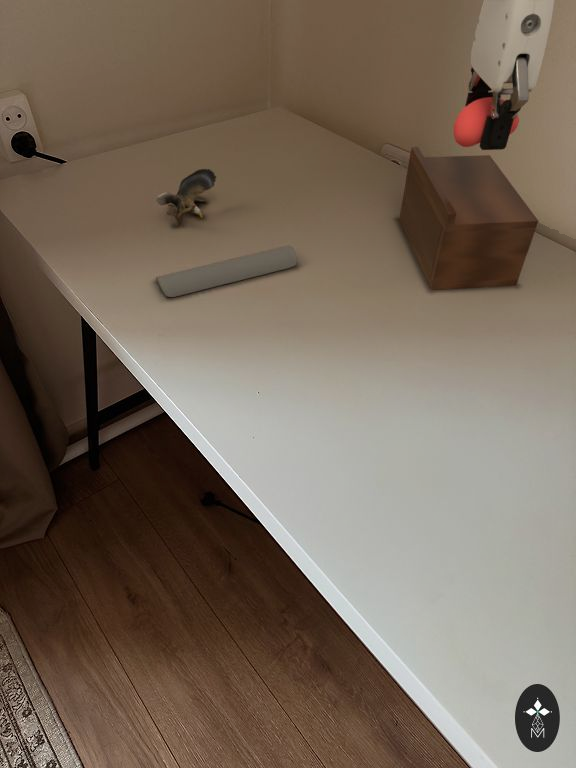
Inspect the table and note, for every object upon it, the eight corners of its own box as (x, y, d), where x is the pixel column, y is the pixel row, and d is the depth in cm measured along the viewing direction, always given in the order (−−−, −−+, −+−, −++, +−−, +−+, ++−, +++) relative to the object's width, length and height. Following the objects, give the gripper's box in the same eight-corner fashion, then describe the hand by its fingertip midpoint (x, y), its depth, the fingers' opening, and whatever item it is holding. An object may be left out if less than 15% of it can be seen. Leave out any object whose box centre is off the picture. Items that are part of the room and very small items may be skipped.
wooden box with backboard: (473, 216, 99) (492, 144, 91) (516, 285, 87) (542, 209, 79) (398, 219, 98) (411, 146, 90) (431, 290, 86) (449, 213, 77)
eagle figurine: (212, 226, 93) (228, 186, 98) (180, 189, 89) (199, 150, 94) (175, 241, 97) (192, 202, 102) (143, 207, 93) (162, 168, 98)
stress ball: (439, 141, 83) (441, 107, 77) (500, 108, 83) (507, 71, 77) (460, 169, 81) (464, 137, 75) (522, 136, 81) (532, 101, 75)
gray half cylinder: (299, 266, 89) (299, 255, 87) (164, 300, 83) (162, 289, 81) (286, 250, 91) (286, 239, 90) (154, 282, 85) (153, 271, 84)
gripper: (594, -7, 62) (537, 167, 75) (526, -49, 74) (487, 107, 87) (521, -7, 61) (476, 169, 74) (464, -49, 73) (434, 108, 86)
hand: (482, 134), depth 80 cm, fingers closed on stress ball, 6 cm apart
